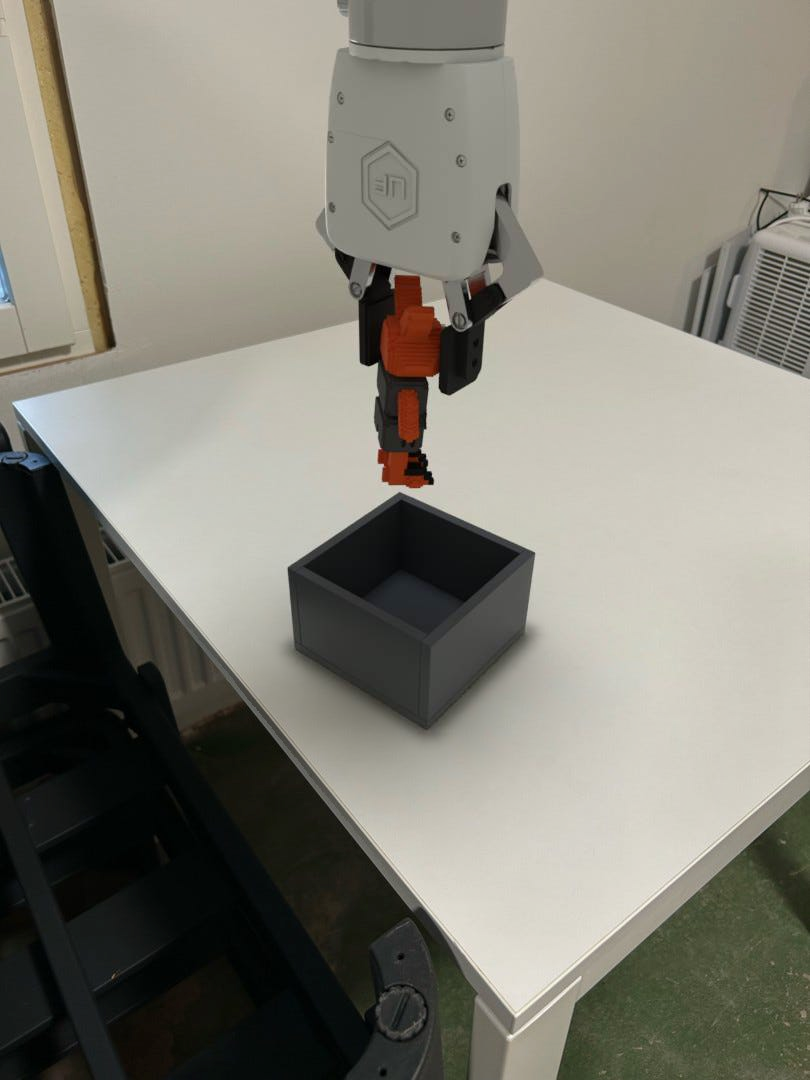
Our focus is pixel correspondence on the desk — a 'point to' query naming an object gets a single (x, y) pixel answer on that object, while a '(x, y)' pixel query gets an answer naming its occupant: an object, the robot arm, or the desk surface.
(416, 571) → the bin
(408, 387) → the toy animal
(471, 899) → the desk surface
